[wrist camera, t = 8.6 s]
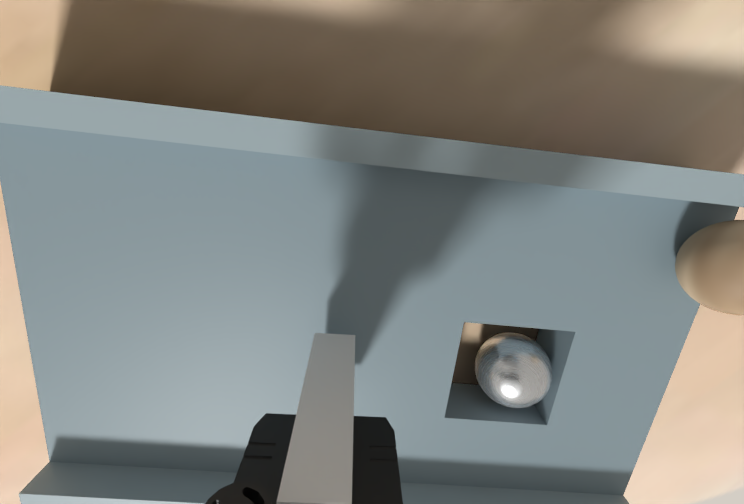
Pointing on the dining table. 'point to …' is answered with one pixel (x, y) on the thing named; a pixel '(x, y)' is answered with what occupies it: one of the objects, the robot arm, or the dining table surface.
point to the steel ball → (513, 370)
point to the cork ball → (714, 267)
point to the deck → (335, 295)
